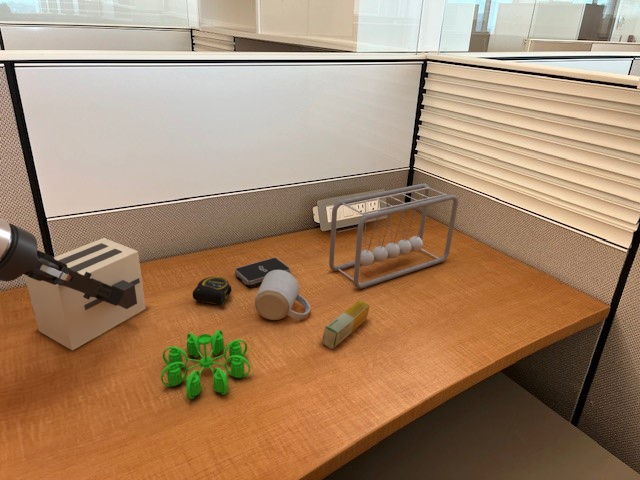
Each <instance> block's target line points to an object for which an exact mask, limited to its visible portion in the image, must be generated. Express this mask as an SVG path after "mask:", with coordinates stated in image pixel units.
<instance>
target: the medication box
mask: <svg viewBox="0 0 640 480" xmlns="http://www.w3.org/2000/svg"><path fill="white" fill-rule="evenodd" d="M370 306H371V305H370V304H369V303H367V302H365V301H364V300H363V299H358V300H357V301H355V302H354V303H352V305H350V307H348V308H347V309H345V310H344V311H343V312H342V313H341V314H339V315H338V316H337V317H336V318H335V319H333V320H332V321H331V322H330V323H328V324H327V325H326V326H324V331H323V336H322V342H321V343H322V345H323V346H325V347H326V348H328V349H330V350H334V349H335V348H336V347H337V346H338V345H339V344H340V343H342V342H343V341H344V340H345V339H346V338H347V337H348V336H350V335H351V334H352V333H353V332H355V330H356V329H358V328H359V326H361V325H362V324H363V323H364V322H365V321H367V320H368V319H367V318H368V315H369V310H370Z"/></svg>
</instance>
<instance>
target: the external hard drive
mask: <svg viewBox="0 0 640 480" xmlns="http://www.w3.org/2000/svg"><path fill="white" fill-rule="evenodd" d="M273 270H283V271H286V272H288V273H290V274H291V267H289V266H288V265H287V264H285V263H284V262H283V261H281V260H280V259H279V258H278V257H271V258H266V259H263V260H260V261H256V262H252V263H249V264H245V265H242V266H239V267H235V268H234V275H235V277H237V279H239V280H240V281H241V282H242V283H244V285H245V286H246V287H248V288H254V287H257V286H261V284H262V281H263V279H264V277H265V276H266V274H267V273H269V272H270V271H273Z"/></svg>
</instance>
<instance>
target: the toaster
mask: <svg viewBox="0 0 640 480" xmlns="http://www.w3.org/2000/svg"><path fill="white" fill-rule="evenodd" d="M53 257H54V259H55V260H57V261H60V262H62V263H64V264H66V265H67V267H68V268H70V269H71V270H72V271H76V272H78V273H79V274H82V275H84V274H85V273H86V272H88V273H91V274H92V275H91V277H90V278H93V279H95V280H98V281H100V282H102V283H105V284H107V285H109V286H112V285H114V284H116V283H118V282H120V281H122V280H124V281H127V282H129V283H131V284H133V285H135V291H136V298H137V304H135V305H134V306H132V307H130V308H128V309H125V308H123V307H121V306H119V305H117V306H115V305H113V304H110V303H107V302H105V301H102V300H100V299H97V298H95V297H90V299H89V300H88V299H86V298H84V297H83V296H84V294H85V293H82V292H79V291H77V290H74V289H71V288H69V287H66V286H63V285H61V286H60V285H58V284H57V285H53V284H51V283H48V282H45V281H38V280H35V279H33V278H30V277H28V276H27V275H24V278H25V283H26V286H27V289H28V290H27V291H28V294H29V299H30V302H31V306H32V309H33V314H34V318H35V322H36V327H37V329H38V332H39V333H41V334H43V335H44V336H47V337H48V338H50V339H51V340H53V341H55V342H57V344H60V345H62V346H63V347H65V348H66V349H68V350H70V351H74V350H76V349H78V348H79V347H81V346H83V345H85V344H86V343H89V342H90V341H92V340H94V339H96V338H97V337H99V336H101V335H103V334H104V333H106V332H107V331H109V330H112V329H113V328H114V327H117V326H119V325H120V324H122V323H124V322H125V321H127V320H129V319H130V318H132V317H134V316H136V315H137V314H139V313H141V312H143V311H144V310H146V301H145V300H146V299H145V294H144V293H145V292H144V286H143V285H144V284H143V279H142V278H143V277H142V271H141V263H140V255H139V250H136V249H134V248H131V247H129V246H126V245H123V244H121V243H118V242H115V241H113V240H110V239H108V238H106V237H102V238H100V239H98V240H95V241H92V242H90V243H87V244H85V245H82V246H80V247H77V248H74V249H72V250H69V251H67V252H65V253H62V254H59V255H56V256H53Z"/></svg>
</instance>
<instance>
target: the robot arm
mask: <svg viewBox="0 0 640 480" xmlns="http://www.w3.org/2000/svg"><path fill="white" fill-rule="evenodd" d="M38 247H39V246H38V240H37V238H36V236H35V235H34V234H33V233H32V232H30V231H28V230H26V229H23V228H21V227H19V226H17V225H15V224H13V223H9V222H8V221H7V220H5V219H3V218H1V217H0V282H12V281H15V280H17V279H19V278H20V277H21V276H23V275H24V276H25V275H27V276H28V277H30V278H33V279H35V280H38V281H45V282H48V283H51V284H53V285H57V284H58V285H60V286H61V285H63V286H66V287H69V288H71V289H74V290H77V291H79V292H82V293H85V294H84V296H83V297H84V298H86V299H88V300H89V299H90V297H95V298H97V299H100V300H102V301H105V302H107V303H110V304H113V305H115V306H117V304H118V303H119V301H120V299H121V297H122V295H123V293H124V292H123V291H121V290H119V289H116V288H114V287H112V286H109V285H107V284H105V283H102V282H100V281H98V280H95V279H93V278H90V277H91V275H92V274H91V273H88V272H86V273H85V274H84V275H82V274H79V273H78V272H76V271H72V270H71V269H70V268H68V267H67V265H66V264H64V263H62V262H60V261H57V260H55V259H54V257H55V256H53V255H50V254H48V253H45V252H43V251H41V250H38Z"/></svg>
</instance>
